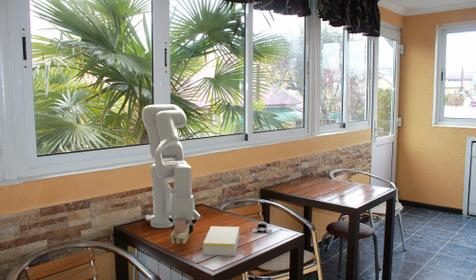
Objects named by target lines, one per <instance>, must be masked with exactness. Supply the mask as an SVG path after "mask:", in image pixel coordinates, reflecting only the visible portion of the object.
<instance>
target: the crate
mask: <svg viewBox="0 0 476 280" xmlns="http://www.w3.org/2000/svg"><path fill="white" fill-rule="evenodd" d="M185 230H186V220H176V221H175V223H174V232H179V233H184V231H185Z"/></svg>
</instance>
